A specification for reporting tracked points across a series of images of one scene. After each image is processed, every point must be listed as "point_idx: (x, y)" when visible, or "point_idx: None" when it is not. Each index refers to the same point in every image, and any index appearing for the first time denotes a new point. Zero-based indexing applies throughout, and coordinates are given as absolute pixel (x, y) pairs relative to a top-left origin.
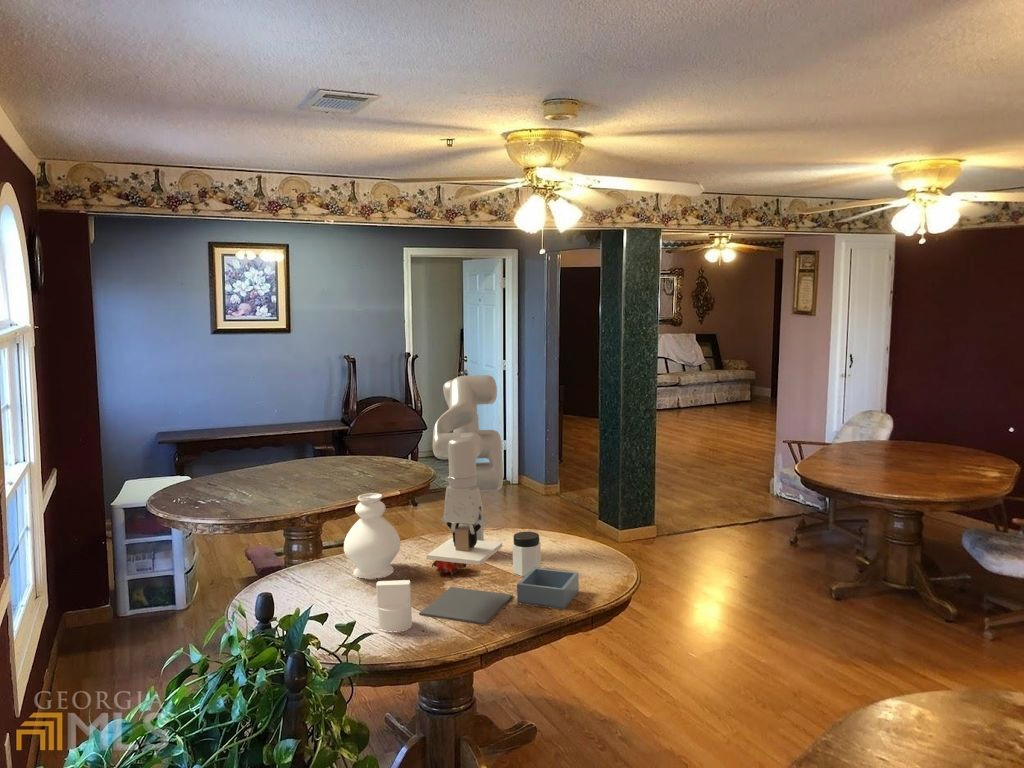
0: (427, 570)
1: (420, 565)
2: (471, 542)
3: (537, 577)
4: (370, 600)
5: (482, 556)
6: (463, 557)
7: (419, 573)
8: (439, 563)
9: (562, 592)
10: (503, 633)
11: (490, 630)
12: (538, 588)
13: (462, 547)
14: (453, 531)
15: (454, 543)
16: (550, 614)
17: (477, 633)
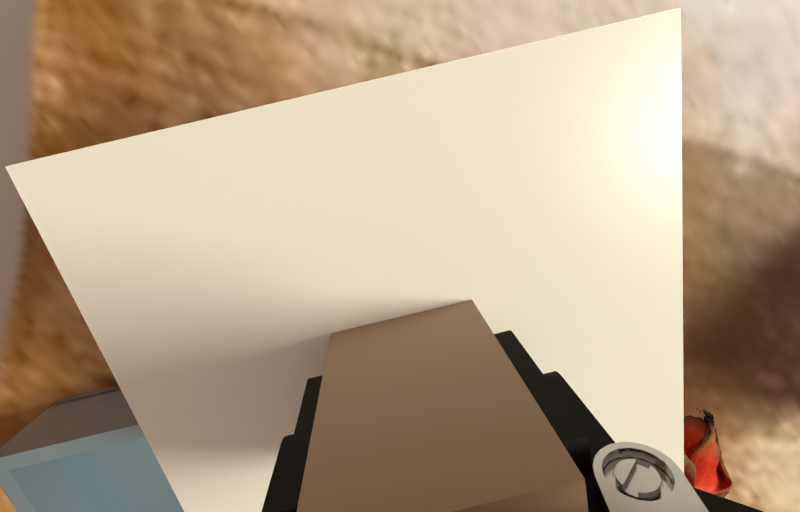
0: (720, 413)
1: (766, 432)
2: (301, 422)
3: None
4: (793, 67)
5: (102, 297)
6: (249, 167)
7: (734, 379)
8: (687, 433)
9: (2, 449)
10: (71, 94)
11: (139, 90)
12: (110, 426)
13: (397, 336)
14: (613, 462)
15: (515, 344)
16: (62, 343)
17: (162, 31)
